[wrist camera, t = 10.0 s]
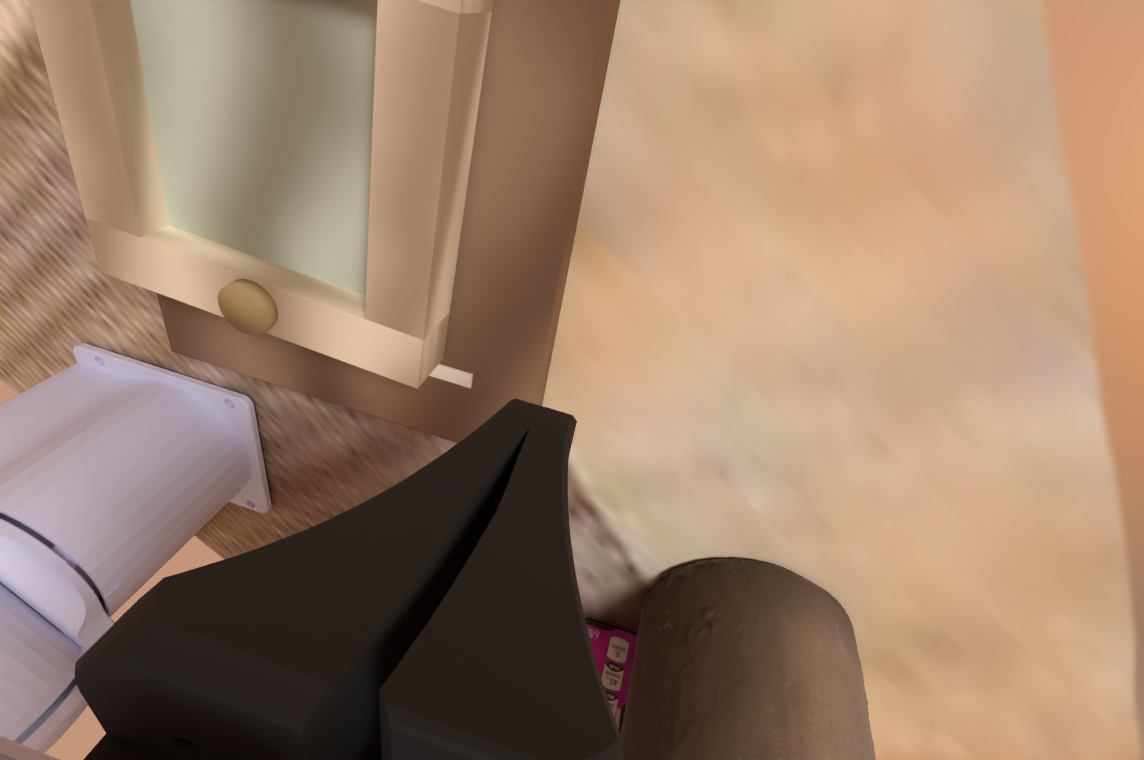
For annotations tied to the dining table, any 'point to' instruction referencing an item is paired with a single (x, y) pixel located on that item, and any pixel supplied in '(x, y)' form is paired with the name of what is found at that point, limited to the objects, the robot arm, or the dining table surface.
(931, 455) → the dining table surface
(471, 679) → the robot arm
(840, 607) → the pillar candle
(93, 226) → the cabinet door with knob
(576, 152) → the walnut board
